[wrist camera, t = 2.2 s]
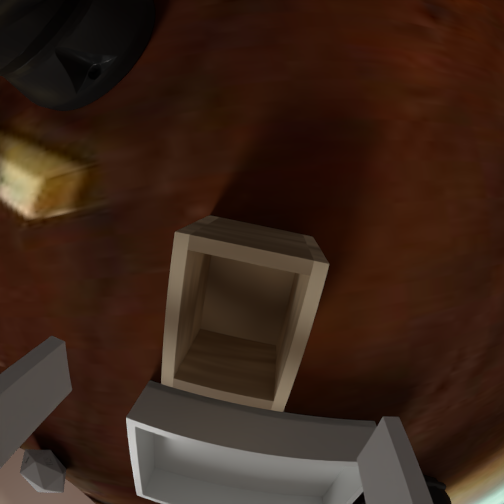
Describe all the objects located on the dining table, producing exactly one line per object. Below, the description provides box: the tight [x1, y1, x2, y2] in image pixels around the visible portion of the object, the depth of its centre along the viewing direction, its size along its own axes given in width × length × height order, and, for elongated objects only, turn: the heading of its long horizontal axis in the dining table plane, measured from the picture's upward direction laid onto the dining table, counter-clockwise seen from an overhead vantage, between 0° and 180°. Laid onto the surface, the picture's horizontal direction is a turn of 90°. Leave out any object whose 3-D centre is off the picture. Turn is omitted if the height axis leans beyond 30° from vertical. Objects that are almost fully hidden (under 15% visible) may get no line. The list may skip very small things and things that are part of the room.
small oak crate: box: [161, 215, 329, 412], centre depth 20 cm, size 10×8×8 cm
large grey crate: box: [126, 380, 377, 504], centre depth 26 cm, size 16×24×6 cm, turn 79°
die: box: [20, 449, 66, 493], centre depth 31 cm, size 8×9×10 cm
